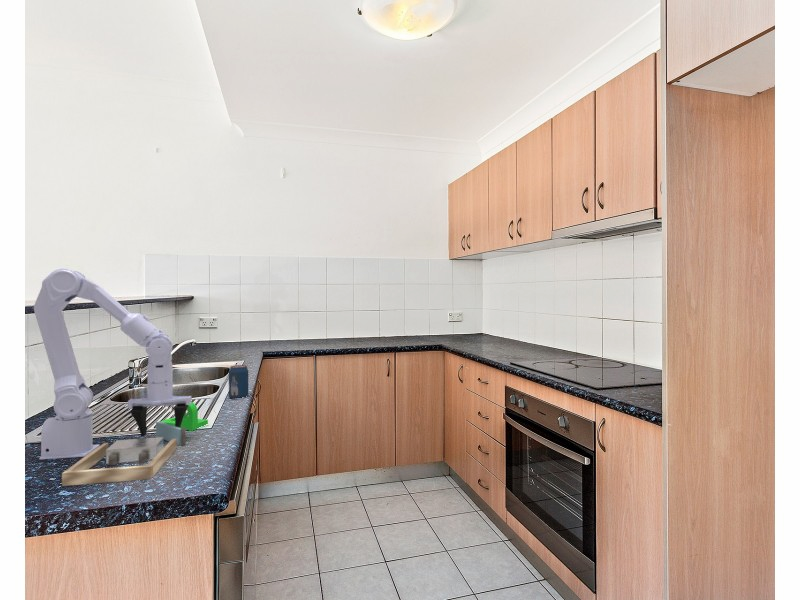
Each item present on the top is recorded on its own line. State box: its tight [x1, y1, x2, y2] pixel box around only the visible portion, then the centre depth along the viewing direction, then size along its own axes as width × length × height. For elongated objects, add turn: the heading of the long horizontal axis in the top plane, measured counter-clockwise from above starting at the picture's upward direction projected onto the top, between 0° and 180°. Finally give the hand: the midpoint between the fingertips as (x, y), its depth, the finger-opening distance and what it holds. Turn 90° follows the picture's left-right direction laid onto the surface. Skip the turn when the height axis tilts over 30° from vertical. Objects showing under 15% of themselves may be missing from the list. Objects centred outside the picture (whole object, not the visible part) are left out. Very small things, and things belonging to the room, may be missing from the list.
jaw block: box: [105, 437, 164, 465], centre depth 104 cm, size 10×7×4 cm
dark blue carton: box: [228, 364, 249, 398], centre depth 166 cm, size 7×7×12 cm
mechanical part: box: [161, 401, 209, 432], centre depth 128 cm, size 12×6×8 cm, turn 72°
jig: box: [61, 427, 187, 487], centre depth 100 cm, size 18×22×4 cm
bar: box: [155, 420, 181, 446], centre depth 116 cm, size 1×12×4 cm, turn 54°
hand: (160, 433), depth 115 cm, fingers open, 7 cm apart
